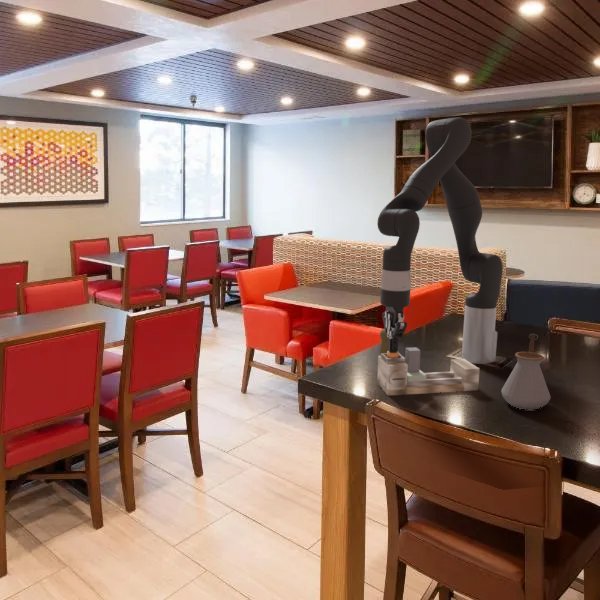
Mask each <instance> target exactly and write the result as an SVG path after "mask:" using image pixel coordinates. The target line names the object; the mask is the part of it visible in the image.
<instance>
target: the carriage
mask: <svg viewBox="0 0 600 600" xmlns="http://www.w3.org/2000/svg"><path fill="white" fill-rule="evenodd" d="M404 358H405V363H406V364H407V365H408V371H407V381H408V382H411V381H426V377H427V375H426V374H425V373H426V372H424V371H422V370H421V369H420V366H421V350H420V349H419V348H418V347H417V346H416V347H405V352H404Z"/></svg>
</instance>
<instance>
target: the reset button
mask: <svg viewBox="0 0 600 600" xmlns="http://www.w3.org/2000/svg"><path fill="white" fill-rule="evenodd" d="M399 353H400V352H399V351H398V352H397V353H390V352H389V351H387V358H399Z"/></svg>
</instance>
